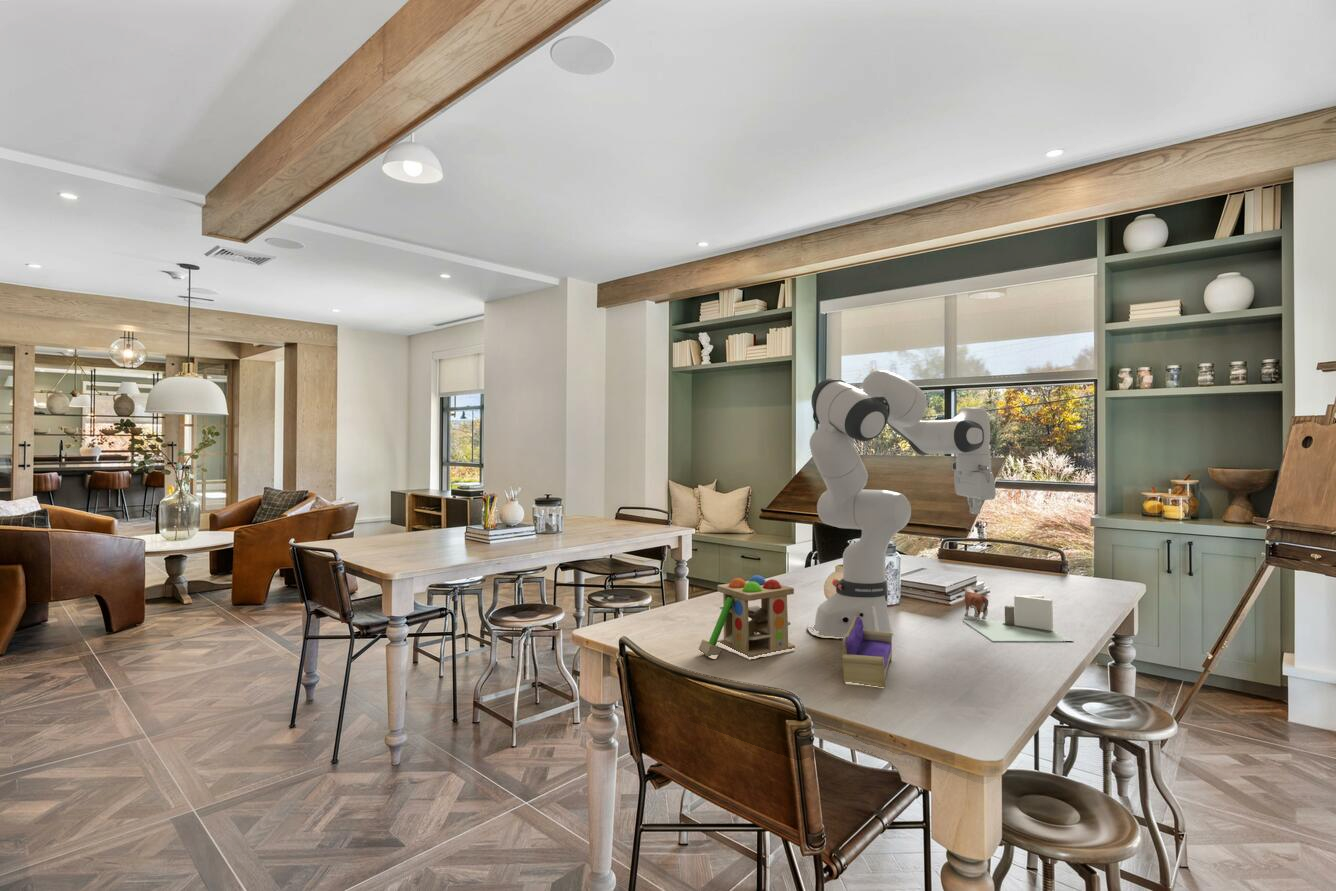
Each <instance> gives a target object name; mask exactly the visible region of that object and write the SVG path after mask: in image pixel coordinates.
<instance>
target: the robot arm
mask: <svg viewBox="0 0 1336 891" xmlns="http://www.w3.org/2000/svg"><path fill="white" fill-rule="evenodd" d="M927 407H928V399H927V396H926V395H925V393H924V391H923V390H922V389H921V388H920V387H919V386H917V385H916V384H914V383H913V382H911V381H909V380H908V379H906V378H904V377H902V376H901V375H898V374H896V373H894V372H890V371H889V370H884V369H880V370H874V371H872V372H870V373H869V374H868V375H866V377H865V378H864V380H863V381H862V382H861V385H860V386H858V387H856V386H854V385H851V384H849V383H848V382H847V383H846V381H844V380H842V379H840V378H839V379H838V378H826V379H823V380H822V381H820V382H819V383H818V384H817V385H816V386H815V387H814V389H813V391H812V395H811V408H812V412H813V413H812V418H813V421H814V422H815V423H816V424H818V425H819V426H818V428H817V429H816V430H815V431H814V432H813V433H812V434H811V436H810V439H809V449H810V453H811V455H812V459H813V462H814V464H815V466H816V468H817V471H818V473H819V474H820V476H821V478H822V480H823V482H824V484H825V486H826V490H825V491H824V492H823V493H822V494H821V495H820V497H819V498H818V501H817V503H816V511H817V515H818V518H819V519H820V521H821V522H822V523H823V524H824V525H828V526H831V527H836V528H839V529H850V530H861V536H860V539H859V540H858V541H855V542H853V543H851V544H849V545H848V546H847V547H846V548H845V549H844V551H843V553H842V575H843V577H842V578H841V579H840V580H839V579H837V578H833V579H832V580H831V584H832V585H833V586H834V587H835V591H836V592H835V593H834V594H833V595H832V596H830V597H828V599H826V600H825V601H824V602H822V603H821V604H819V606H818V607H817V609H816V613H815V621H814V622H815V625H814V627H813V628H814V629H815V630H816V631H819V633H818V634H819V635H824V636H834V637H843V636H846V634H847V632H848V630H849V628H850V626H851V624H852V622H853V618H854V617H860V618H861V619H862V621H863V630H868V631H880V632H891V633H892V634H893V632H894V631H893V629H892V625H891V622H890V617H889V612H888V607H887V606H888V605H887V601H888V598H889V595H888V592H889V591H888V590H889V589H888V582H887V580H886V555H887V550H888V548H889V545H890V543H891V540H892V539H893V538H894V536H895V535H896V534H897V533H899V532H900V531H901V530H902V529H904V528H905V527H906V526H907V525H908V523H909V522H910V519H911V516H912V507H911V503H910V501H909V499H908V498H907V497H906V495H904V494H903V493H902V492H897V491H892V490H887V489H865V487H866V485H867V482H868V479H869V478H868V476H869V475H868V474H869V473H868V470H867V468H866V466H865V464H864V462H863V460H862V458H861V456H860V453H859V452H858V449H857V448H856V446H855V443H854V440H856V441H859V442H865V443H866V442H870V441H873V440H874V439H875V438H877V437H879V436H880V435H881V434H882V432H884V429H885V428H886V425H887V426H889V427H890V428H891V429H892V430H893V431H894V432H896V433H897V434H898V435H899V436H901V437H902V438H903V439H905V440H906V442H907V443H908V444H909V445H910V447H911V448H912V450H913V451H914V452H915V453H916V454H918V455H920V456H928V455H929V456H930V455H952V454H953V455H955V454H956V459H955V460H954V461H953V462H952V464H951V470H952V471H954V472H953V481H954V492H955V493H956V495H957V496H961V497H967V498H966V499H967V503H968V506H969V513H970V514H972V515H980V514H981V507H982V504H983V501H985V500H986V501H987V500H988V501H993V500H995V498H996V496H997V495H996V494H997V493H996V482H995V476H994V474H993V472H992V453H991V449H990V442H991V425H990V420H989V419H990V418H989V414H988V412H987V410H986V409H984V408H982V407H976V406H965V407H961V408H959V409H958V410H957V415H955V416H954V417H952V418H951V419H936V420H935V419H934V420H932V419H930V420H926V419H925V420H924V419H923V420H922V418H923V417H924V416H925V414H926V412H927ZM809 628H810V629H812V630H813V631H814V629H813V628H812V627H809ZM813 631H812V632H813Z"/></svg>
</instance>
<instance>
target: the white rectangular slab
mask: <svg viewBox="0 0 1336 891" xmlns="http://www.w3.org/2000/svg"><path fill="white" fill-rule="evenodd" d="M1013 599H1014V603H1013V604H1014V606H1013V607H1014V617H1015V625H1018V626H1024V627H1031V628H1037V629H1044V630H1050V631H1052V630H1054V616H1053V615H1054V614H1053V610H1054V609H1053V607H1054V606H1053V599H1049V598H1044V599H1043V598H1035V597H1027V596H1019V595H1017V594H1016V595H1014V598H1013Z"/></svg>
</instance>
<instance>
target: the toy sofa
mask: <svg viewBox="0 0 1336 891" xmlns="http://www.w3.org/2000/svg"><path fill="white" fill-rule="evenodd" d="M892 637H893V633H891V632H880V631H868V630H863V621H862V619H861V618H860V617H854V618H853V622H852V624H851V626H850V628H849V630H848V632H847V634H846V636H843V640H842V650H843V652H842V667H843V668H842V669H843V682H844V681H845V682H852V683H859V684H864V685H871V686H878V687H886V682H885V681H886V680H885V679H886V674H887V672H888V667H889V663H890V662H891V661H890V660H892V661H893V654H892V653H893V650H892V646H893V645H892V644H893V643H892V640H893V638H892Z"/></svg>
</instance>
